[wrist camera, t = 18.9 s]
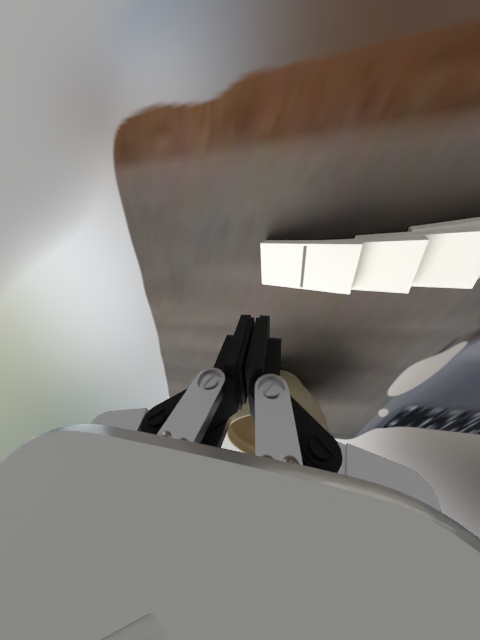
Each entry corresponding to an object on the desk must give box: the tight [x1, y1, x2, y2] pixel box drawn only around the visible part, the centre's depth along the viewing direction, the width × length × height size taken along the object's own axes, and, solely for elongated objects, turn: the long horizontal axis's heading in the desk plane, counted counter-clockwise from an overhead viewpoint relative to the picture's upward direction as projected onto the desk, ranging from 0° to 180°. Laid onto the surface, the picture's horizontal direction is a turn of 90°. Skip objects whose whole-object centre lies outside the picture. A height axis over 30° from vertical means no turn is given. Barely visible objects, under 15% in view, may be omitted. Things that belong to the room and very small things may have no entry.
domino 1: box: [261, 240, 363, 295], centre depth 21 cm, size 2×5×10 cm
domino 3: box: [355, 227, 480, 289], centre depth 18 cm, size 2×5×10 cm
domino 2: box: [338, 235, 429, 293], centre depth 20 cm, size 2×5×10 cm
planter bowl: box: [227, 370, 330, 455], centre depth 33 cm, size 16×16×11 cm
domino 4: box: [408, 217, 480, 276], centre depth 17 cm, size 2×5×10 cm
